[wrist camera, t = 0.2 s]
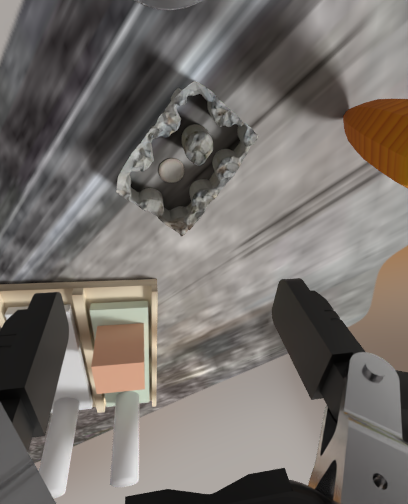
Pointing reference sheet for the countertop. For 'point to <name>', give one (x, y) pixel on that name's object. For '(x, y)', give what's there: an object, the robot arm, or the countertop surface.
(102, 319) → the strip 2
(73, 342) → the strip
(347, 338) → the robot arm
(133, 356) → the cube
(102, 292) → the board
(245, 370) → the countertop surface
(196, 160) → the egg carton
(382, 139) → the carrot
